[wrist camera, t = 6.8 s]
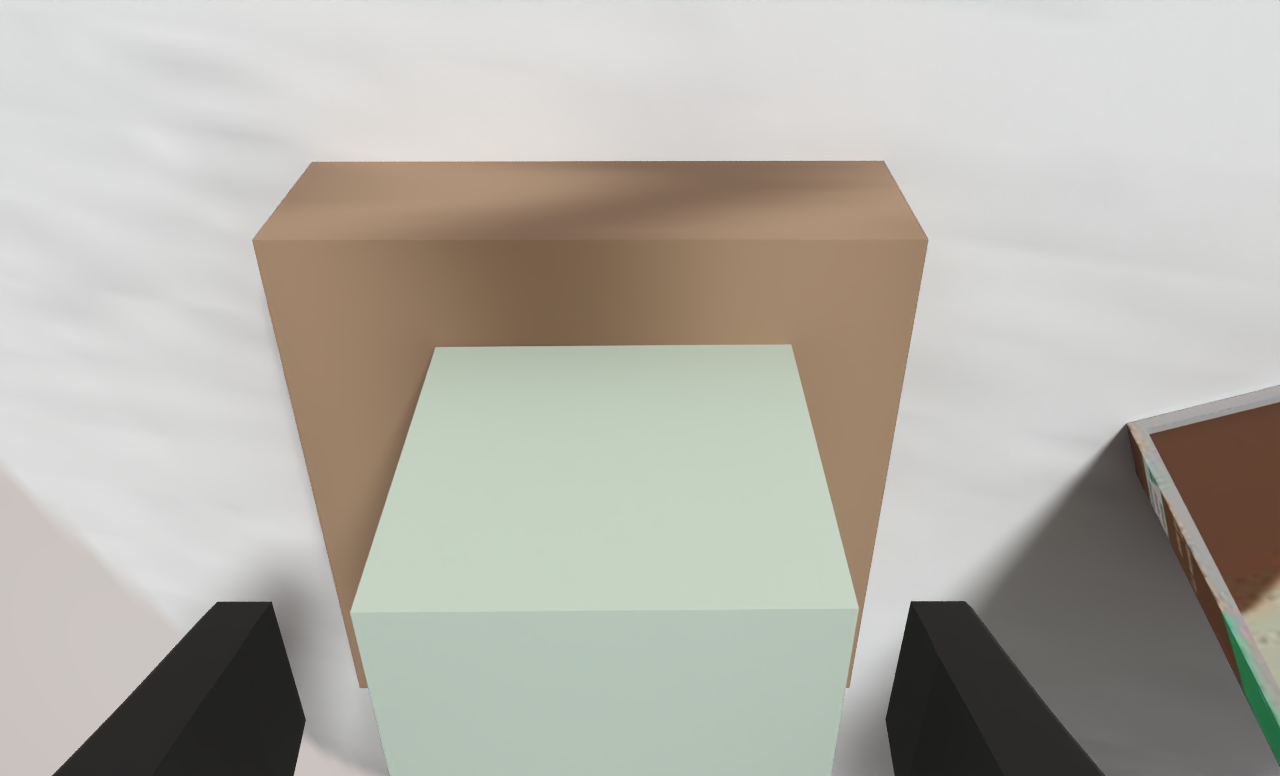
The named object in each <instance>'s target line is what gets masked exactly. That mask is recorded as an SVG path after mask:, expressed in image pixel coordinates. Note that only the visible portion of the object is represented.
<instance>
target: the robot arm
mask: <svg viewBox="0 0 1280 776" xmlns="http://www.w3.org/2000/svg"><path fill="white" fill-rule="evenodd" d="M305 721H306V719H305V716H304V712H303V709H302V705H301V702H300V698H299V695H298V691H297V688H296V685H295V681H294V678H293V674H292V671H291V667H290V664H289V660H288V657H287V654H286V650H285V647H284V643H283V640H282V636H281V633H280V629H279V626H278V623H277V619H276V616H275V612H274V609H273V605H272V602H217V603H216V604H215V605H214V606H213V607H212V608H211V609H210V610H209V611H208V612H207V613H206V614H205V615H204V616H203V617H202V618H201V619H200V620H199V621H198V622H197V623H196V624H195V625H194V627H193V628H192V629H191V630H190V631H189V632H188V633H187V634H186V635H185V636H184V637H183V638H182V640H181V641H180V642H179V643H178V644H177V645H176V646H175V647H174V648H173V649H172V650H171V651H170V653H169V654H168V655H167V656H166V657H165V658H164V659H163V660H162V661H161V662H160V663H159V665H158V666H157V667H156V668H155V669H154V670H153V671H152V672H151V673H150V674H149V675H148V676H147V677H146V679H145V680H144V681H143V682H142V683H141V684H140V685H139V686H138V687H137V688H136V689H135V690H134V691H133V692H132V694H131V695H130V696H129V697H128V698H127V699H126V700H125V701H124V702H123V703H122V704H121V705H120V706H119V707H118V708H117V709H116V711H115V712H114V713H113V714H112V715H111V716H110V717H109V718H108V719H107V720H106V721H105V722H104V723H103V724H102V725H101V726H100V727H99V728H98V729H97V730H96V731H95V732H94V733H93V734H92V735H91V736H90V737H89V738H88V739H87V741H86V742H85V743H84V744H83V745H82V746H81V747H80V748H79V749H78V750H77V751H76V752H75V753H74V754H73V755H72V756H71V757H70V758H69V759H68V760H67V761H66V762H65V763H64V764H63V765H62V766H61V767H60V768H59V769H58V770H57V771H56V772H55V773H54V774H53V775H52V776H293V775H294V771H295V767H296V762H297V758H298V753H299V749H300V744H301V740H302V735H303V730H304V726H305ZM886 725H887V731H888V737H889V743H890V750H891V756H892V762H893V768H894V774H895V776H1105V775H1104V774H1103V772H1102V771H1101V770H1100V769H1099V768H1098V766H1097V765H1096V764H1095V763H1094V762H1093V761H1092V759H1091V758H1090V757H1089V756H1088V755H1087V753H1086V752H1085V751H1084V750H1083V749H1082V748H1081V746H1080V745H1079V744H1078V743H1077V742H1076V740H1075V739H1074V738H1073V737H1072V736H1071V735H1070V733H1069V732H1068V731H1067V730H1066V729H1065V727H1064V726H1063V725H1062V724H1061V722H1060V721H1059V720H1058V719H1057V717H1056V716H1055V715H1054V714H1053V713H1052V711H1051V710H1050V709H1049V708H1048V706H1047V705H1046V704H1045V703H1044V701H1043V700H1042V699H1041V698H1040V696H1039V695H1038V694H1037V692H1036V691H1035V690H1034V689H1033V687H1032V686H1031V685H1030V684H1029V682H1028V681H1027V680H1026V678H1025V677H1024V676H1023V675H1022V673H1021V672H1020V671H1019V669H1018V668H1017V667H1016V666H1015V664H1014V663H1013V662H1012V660H1011V659H1010V658H1009V656H1008V655H1007V654H1006V653H1005V651H1004V650H1003V649H1002V647H1001V646H1000V645H999V643H998V642H997V641H996V639H995V638H994V637H993V635H992V634H991V633H990V631H989V630H988V629H987V627H986V626H985V625H984V623H983V622H982V621H981V619H980V618H979V617H978V615H977V614H976V613H975V611H974V610H973V609H972V608H971V607H970V606H969V605H968V604H967V603H966V602H965V601H911V603H910V608H909V613H908V617H907V622H906V627H905V631H904V636H903V641H902V645H901V650H900V655H899V659H898V664H897V669H896V673H895V678H894V683H893V687H892V692H891V697H890V701H889V706H888V711H887V715H886Z"/></svg>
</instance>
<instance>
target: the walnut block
mask: <svg viewBox="0 0 1280 776" xmlns="http://www.w3.org/2000/svg"><path fill="white" fill-rule="evenodd" d="M252 241H253V246H254V250H255V254H256V258H257V262H258V266H259V270H260V275H261V279H262V283H263V287H264V291H265V295H266V300H267V304H268V308H269V312H270V316H271V320H272V324H273V329H274V333H275V337H276V341H277V345H278V349H279V354H280V358H281V362H282V366H283V370H284V374H285V379H286V383H287V387H288V391H289V395H290V399H291V403H292V408H293V412H294V416H295V420H296V424H297V428H298V433H299V437H300V441H301V445H302V449H303V453H304V458H305V462H306V466H307V470H308V474H309V478H310V482H311V487H312V491H313V495H314V499H315V503H316V507H317V512H318V516H319V520H320V524H321V528H322V532H323V536H324V541H325V545H326V549H327V553H328V557H329V561H330V566H331V570H332V574H333V578H334V582H335V586H336V591H337V595H338V599H339V603H340V607H341V611H342V615H343V620H344V624H345V628H346V632H347V636H348V640H349V645H350V649H351V653H352V657H353V661H354V665H355V670H356V674H357V678H358V682H359V686H360V688H368V685H367V681H366V676H365V672H364V668H363V664H362V660H361V656H360V652H359V648H358V643H357V639H356V635H355V631H354V627H353V623H352V619H351V615H350V611H351V608H352V605H353V602H354V599H355V596H356V593H357V590H358V586H359V583H360V580H361V577H362V574H363V571H364V568H365V565H366V562H367V558H368V555H369V552H370V549H371V546H372V543H373V540H374V537H375V534H376V530H377V527H378V524H379V521H380V518H381V515H382V512H383V509H384V506H385V502H386V499H387V496H388V493H389V490H390V487H391V484H392V481H393V478H394V474H395V471H396V468H397V465H398V462H399V459H400V456H401V453H402V450H403V446H404V443H405V440H406V437H407V434H408V431H409V428H410V425H411V422H412V419H413V415H414V412H415V409H416V406H417V403H418V400H419V397H420V394H421V391H422V387H423V384H424V381H425V378H426V375H427V372H428V369H429V366H430V363H431V359H432V356H433V353H434V350H435V347H500V346H626V345H786V344H791V345H792V349H793V353H794V357H795V361H796V365H797V369H798V372H799V376H800V380H801V384H802V388H803V392H804V396H805V400H806V404H807V408H808V412H809V415H810V419H811V423H812V427H813V431H814V435H815V439H816V443H817V447H818V451H819V455H820V458H821V462H822V466H823V470H824V474H825V478H826V482H827V486H828V490H829V494H830V498H831V501H832V505H833V509H834V513H835V517H836V521H837V525H838V529H839V533H840V537H841V540H842V544H843V548H844V552H845V556H846V560H847V564H848V568H849V572H850V576H851V580H852V583H853V587H854V591H855V595H856V599H857V603H858V607H859V611H858V617H857V623H856V629H855V635H854V641H853V647H852V653H851V659H850V665H849V671H848V677H847V683H846V688H849V686H850V681H851V675H852V669H853V664H854V658H855V652H856V647H857V641H858V635H859V630H860V624H861V618H862V613H863V607H864V601H865V596H866V590H867V584H868V579H869V573H870V567H871V562H872V556H873V550H874V545H875V539H876V533H877V528H878V522H879V516H880V511H881V505H882V499H883V494H884V488H885V482H886V477H887V471H888V465H889V460H890V454H891V448H892V443H893V437H894V431H895V426H896V420H897V414H898V409H899V403H900V397H901V392H902V386H903V381H904V375H905V369H906V364H907V358H908V352H909V347H910V341H911V335H912V330H913V324H914V318H915V313H916V307H917V301H918V296H919V290H920V284H921V279H922V273H923V267H924V262H925V256H926V250H927V245H928V238H927V236H926V234H925V233H924V231H923V229H922V227H921V226H920V224H919V222H918V220H917V219H916V217H915V215H914V213H913V211H912V210H911V208H910V206H909V204H908V203H907V201H906V199H905V197H904V196H903V194H902V192H901V190H900V189H899V187H898V185H897V183H896V182H895V180H894V178H893V176H892V175H891V173H890V171H889V169H888V167H887V166H886V164H885V162H884V161H571V162H312V163H311V164H310V165H309V167H308V168H307V169H306V170H305V172H304V173H303V174H302V176H301V177H300V178H299V180H298V181H297V182H296V184H295V185H294V186H293V187H292V189H291V190H290V191H289V193H288V194H287V195H286V197H285V198H284V199H283V200H282V202H281V203H280V204H279V206H278V207H277V208H276V210H275V211H274V212H273V214H272V215H271V216H270V217H269V219H268V220H267V221H266V223H265V224H264V225H263V227H262V228H261V229H260V230H259V232H258V233H257V234H256V236H255V237H254V238H253V240H252Z"/></svg>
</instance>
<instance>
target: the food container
mask: <svg viewBox="0 0 1280 776" xmlns="http://www.w3.org/2000/svg"><path fill="white" fill-rule="evenodd" d="M1127 427H1128V432H1129V437H1130V442H1131V448H1132V453H1133V458H1134V463H1135V468H1136V473H1137V476H1138V478H1139V480H1140V482H1141V484H1142V486H1143V488H1144V490H1145V492H1146V494H1147V496H1148V498H1149V500H1150V502H1151V504H1152V506H1153V508H1154V510H1155V512H1156V514H1157V516H1158V518H1159V521H1160V523H1161V525H1162V527H1163V529H1164V531H1165V533H1166V535H1167V537H1168V539H1169V541H1170V543H1171V545H1172V547H1173V549H1174V551H1175V553H1176V555H1177V557H1178V559H1179V561H1180V563H1181V566H1182V568H1183V570H1184V572H1185V574H1186V576H1187V578H1188V580H1189V582H1190V584H1191V586H1192V588H1193V590H1194V592H1195V594H1196V596H1197V598H1198V600H1199V602H1200V604H1201V606H1202V608H1203V610H1204V613H1205V615H1206V617H1207V619H1208V621H1209V623H1210V625H1211V627H1212V629H1213V631H1214V633H1215V635H1216V637H1217V639H1218V641H1219V643H1220V645H1221V647H1222V649H1223V651H1224V653H1225V655H1226V657H1227V660H1228V662H1229V664H1230V666H1231V668H1232V670H1233V672H1234V674H1235V676H1236V678H1237V680H1238V682H1239V684H1240V686H1241V688H1242V690H1243V692H1244V694H1245V696H1246V698H1247V700H1248V702H1249V705H1250V707H1251V709H1252V711H1253V713H1254V715H1255V717H1256V719H1257V721H1258V723H1259V725H1260V727H1261V729H1262V731H1263V733H1264V735H1265V737H1266V739H1267V741H1268V743H1269V745H1270V747H1271V749H1272V752H1273V754H1274V756H1275V758H1276V760H1277V762H1278V764H1279V766H1280V385H1279V386H1275V387H1271V388H1267V389H1263V390H1259V391H1255V392H1251V393H1247V394H1243V395H1239V396H1235V397H1231V398H1227V399H1223V400H1219V401H1215V402H1211V403H1207V404H1203V405H1199V406H1195V407H1191V408H1187V409H1183V410H1179V411H1175V412H1171V413H1167V414H1163V415H1159V416H1155V417H1151V418H1147V419H1143V420H1139V421H1135V422H1131V423H1127Z"/></svg>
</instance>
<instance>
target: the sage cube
mask: <svg viewBox="0 0 1280 776" xmlns="http://www.w3.org/2000/svg"><path fill="white" fill-rule="evenodd" d="M858 611H859V607H858V603H857V599H856V595H855V591H854V587H853V583H852V580H851V576H850V572H849V568H848V564H847V560H846V556H845V552H844V548H843V544H842V540H841V537H840V533H839V529H838V525H837V521H836V517H835V513H834V509H833V505H832V501H831V498H830V494H829V490H828V486H827V482H826V478H825V474H824V470H823V466H822V462H821V458H820V455H819V451H818V447H817V443H816V439H815V435H814V431H813V427H812V423H811V419H810V415H809V412H808V408H807V404H806V400H805V396H804V392H803V388H802V384H801V380H800V376H799V372H798V369H797V365H796V361H795V357H794V353H793V349H792V345H791V344H786V345H626V346H500V347H435V350H434V353H433V356H432V359H431V363H430V366H429V369H428V372H427V375H426V378H425V381H424V384H423V387H422V391H421V394H420V397H419V400H418V403H417V406H416V409H415V412H414V415H413V419H412V422H411V425H410V428H409V431H408V434H407V437H406V440H405V443H404V446H403V450H402V453H401V456H400V459H399V462H398V465H397V468H396V471H395V474H394V478H393V481H392V484H391V487H390V490H389V493H388V496H387V499H386V502H385V506H384V509H383V512H382V515H381V518H380V521H379V524H378V527H377V530H376V534H375V537H374V540H373V543H372V546H371V549H370V552H369V555H368V558H367V562H366V565H365V568H364V571H363V574H362V577H361V580H360V583H359V586H358V590H357V593H356V596H355V599H354V602H353V605H352V608H351V611H350V615H351V619H352V623H353V627H354V631H355V635H356V639H357V643H358V648H359V652H360V656H361V660H362V664H363V668H364V672H365V676H366V681H367V685H368V689H369V693H370V697H371V701H372V705H373V709H374V714H375V718H376V722H377V726H378V730H379V734H380V738H381V742H382V747H383V751H384V755H385V759H386V763H387V767H388V771H389V775H390V776H831V773H832V767H833V761H834V755H835V749H836V743H837V737H838V731H839V725H840V719H841V713H842V707H843V701H844V695H845V689H846V683H847V677H848V671H849V665H850V659H851V653H852V647H853V641H854V635H855V629H856V623H857V617H858Z"/></svg>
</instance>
